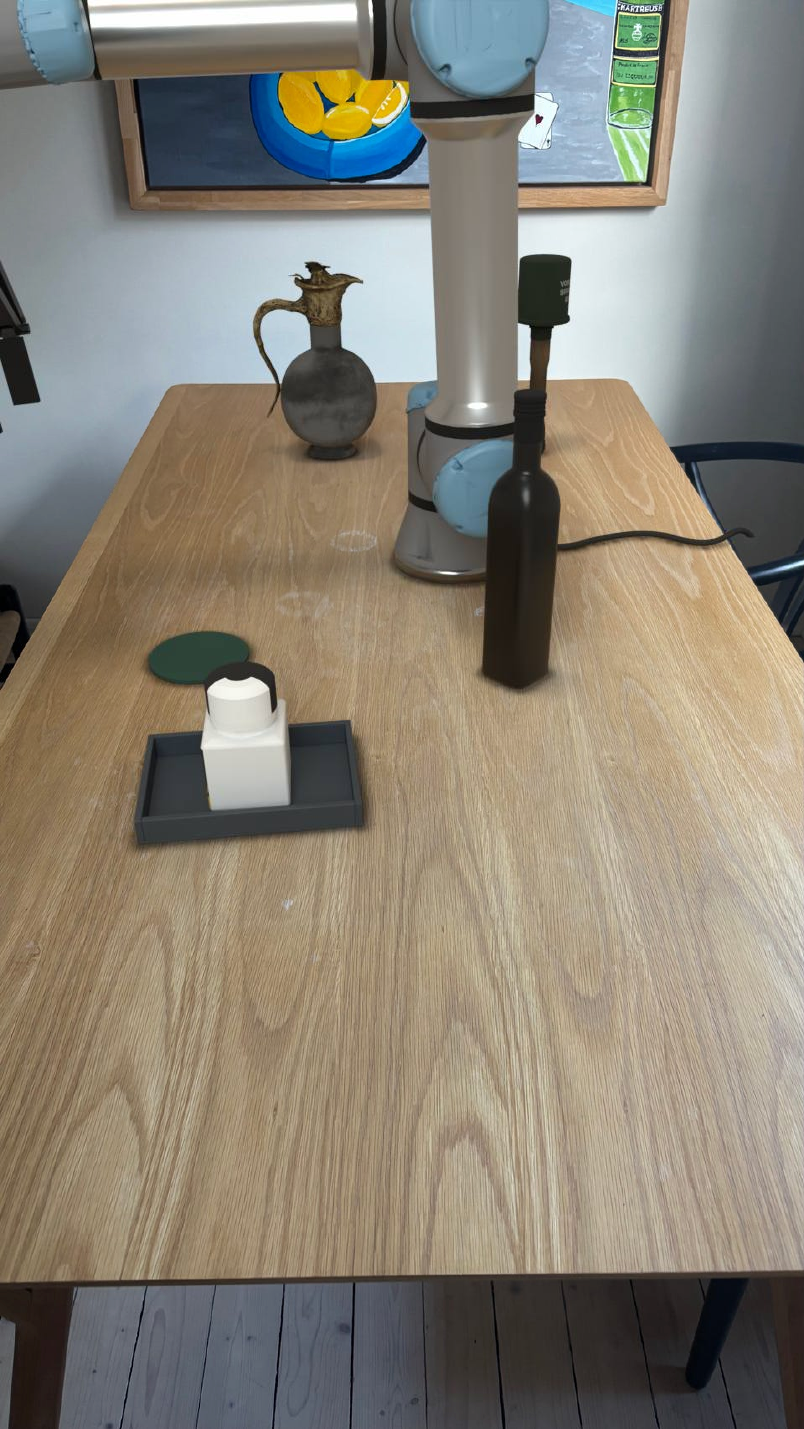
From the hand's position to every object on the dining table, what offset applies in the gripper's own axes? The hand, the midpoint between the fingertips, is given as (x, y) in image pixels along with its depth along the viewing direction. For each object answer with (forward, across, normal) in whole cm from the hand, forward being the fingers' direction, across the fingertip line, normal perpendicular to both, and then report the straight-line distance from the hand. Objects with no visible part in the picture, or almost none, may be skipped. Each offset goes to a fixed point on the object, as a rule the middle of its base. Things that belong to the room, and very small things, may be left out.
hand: (8, 418), depth 102 cm
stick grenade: (+28, -64, +61) cm, 93 cm away
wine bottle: (+32, +7, +48) cm, 58 cm away
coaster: (+28, +1, +13) cm, 31 cm away
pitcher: (+24, -67, +26) cm, 76 cm away
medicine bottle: (+30, +26, +21) cm, 45 cm away
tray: (+30, +26, +21) cm, 45 cm away
